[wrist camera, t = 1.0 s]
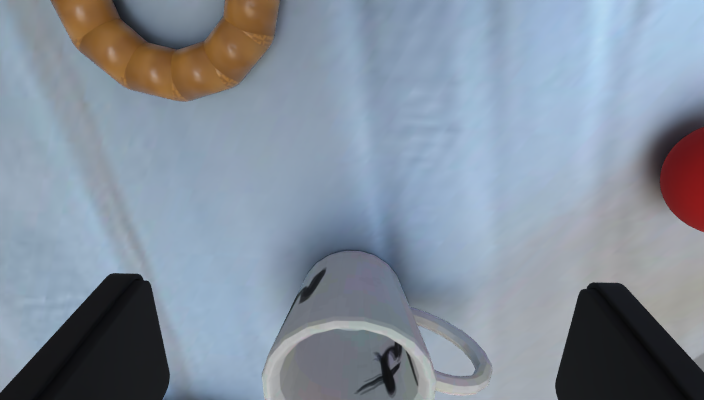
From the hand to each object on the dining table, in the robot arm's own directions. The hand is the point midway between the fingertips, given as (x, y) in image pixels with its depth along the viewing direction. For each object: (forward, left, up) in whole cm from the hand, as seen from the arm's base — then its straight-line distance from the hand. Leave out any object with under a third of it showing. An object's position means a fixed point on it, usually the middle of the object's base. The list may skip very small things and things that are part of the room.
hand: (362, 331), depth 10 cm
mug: (+14, +5, -22) cm, 26 cm away
